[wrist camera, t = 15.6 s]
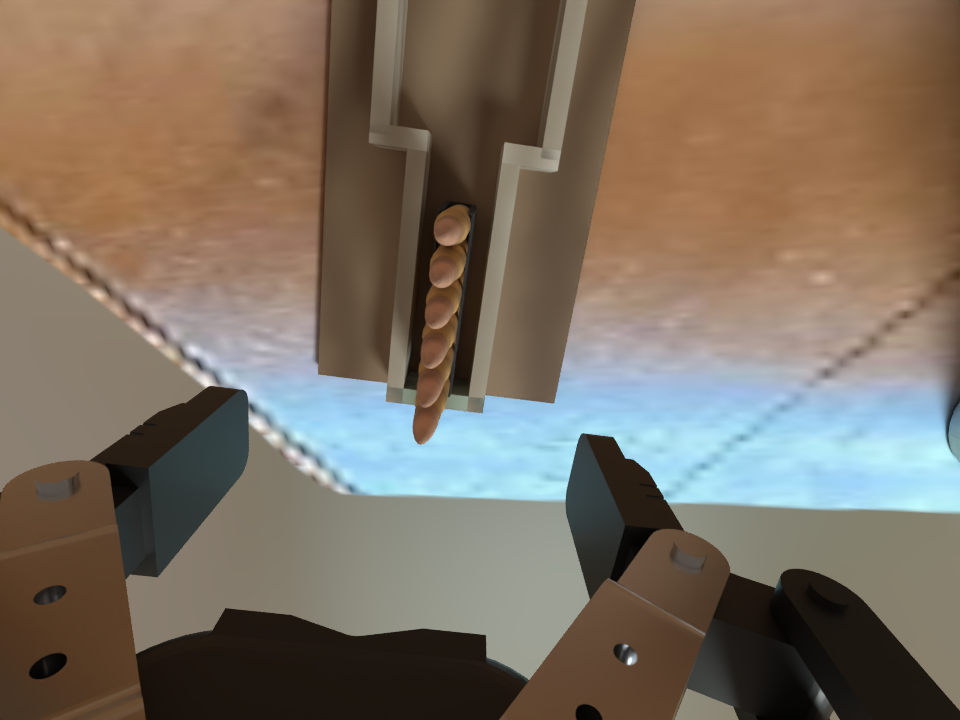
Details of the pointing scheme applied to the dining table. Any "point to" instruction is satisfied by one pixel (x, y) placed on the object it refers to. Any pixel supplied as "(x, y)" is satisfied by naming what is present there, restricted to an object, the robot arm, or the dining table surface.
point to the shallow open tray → (463, 182)
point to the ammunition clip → (443, 314)
